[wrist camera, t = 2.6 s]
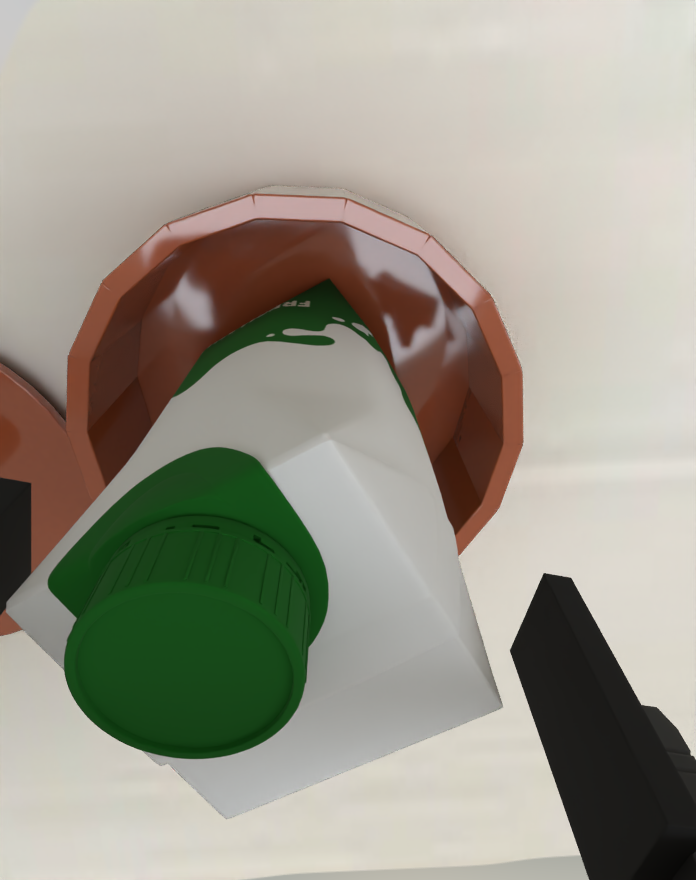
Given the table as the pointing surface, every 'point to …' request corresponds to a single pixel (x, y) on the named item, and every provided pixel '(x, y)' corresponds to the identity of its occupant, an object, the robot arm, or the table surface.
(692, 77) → the table surface
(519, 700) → the table surface
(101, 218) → the table surface
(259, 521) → the milk carton
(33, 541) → the lid
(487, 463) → the pot
